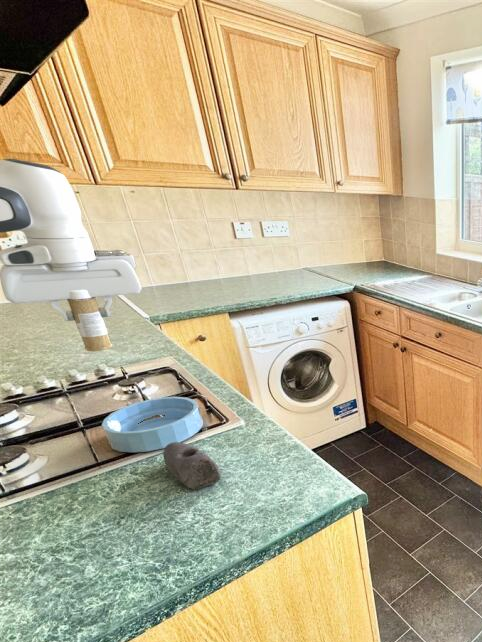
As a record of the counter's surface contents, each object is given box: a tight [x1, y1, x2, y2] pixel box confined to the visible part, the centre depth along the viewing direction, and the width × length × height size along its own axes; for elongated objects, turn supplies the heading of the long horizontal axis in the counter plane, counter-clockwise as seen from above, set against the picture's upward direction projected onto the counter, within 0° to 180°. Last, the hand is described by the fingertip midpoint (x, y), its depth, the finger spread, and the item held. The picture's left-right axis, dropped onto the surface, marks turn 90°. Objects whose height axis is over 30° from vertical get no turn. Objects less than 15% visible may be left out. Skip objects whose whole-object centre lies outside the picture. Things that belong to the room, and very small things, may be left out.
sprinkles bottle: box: [66, 290, 113, 352], centre depth 90 cm, size 5×5×13 cm
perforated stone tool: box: [163, 442, 221, 491], centre depth 77 cm, size 15×5×7 cm, turn 56°
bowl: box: [101, 396, 204, 454], centre depth 89 cm, size 16×16×6 cm
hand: (88, 318), depth 90 cm, fingers closed on sprinkles bottle, 4 cm apart
